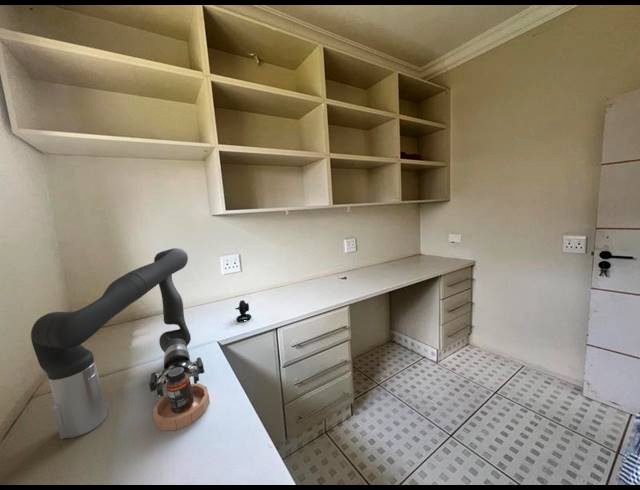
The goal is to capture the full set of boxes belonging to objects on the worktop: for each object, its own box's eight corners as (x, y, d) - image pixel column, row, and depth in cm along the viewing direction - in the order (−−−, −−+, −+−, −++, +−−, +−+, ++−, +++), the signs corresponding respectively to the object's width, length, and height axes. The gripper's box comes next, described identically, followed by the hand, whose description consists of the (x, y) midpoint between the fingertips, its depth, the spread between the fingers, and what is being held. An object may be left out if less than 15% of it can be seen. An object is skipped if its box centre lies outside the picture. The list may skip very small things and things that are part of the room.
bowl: (154, 439, 66) (152, 429, 65) (156, 405, 78) (154, 396, 77) (212, 414, 73) (210, 404, 72) (205, 385, 85) (204, 377, 84)
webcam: (250, 321, 131) (248, 302, 129) (235, 323, 130) (232, 304, 128) (252, 314, 139) (250, 297, 137) (237, 316, 137) (235, 299, 136)
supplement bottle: (188, 395, 79) (182, 362, 78) (197, 404, 76) (191, 369, 74) (167, 408, 75) (161, 373, 73) (176, 417, 71) (169, 381, 69)
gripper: (149, 356, 82) (146, 385, 68) (198, 342, 89) (204, 365, 75) (153, 378, 83) (151, 410, 70) (201, 361, 90) (207, 388, 77)
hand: (178, 387), depth 72 cm, fingers open, 8 cm apart
